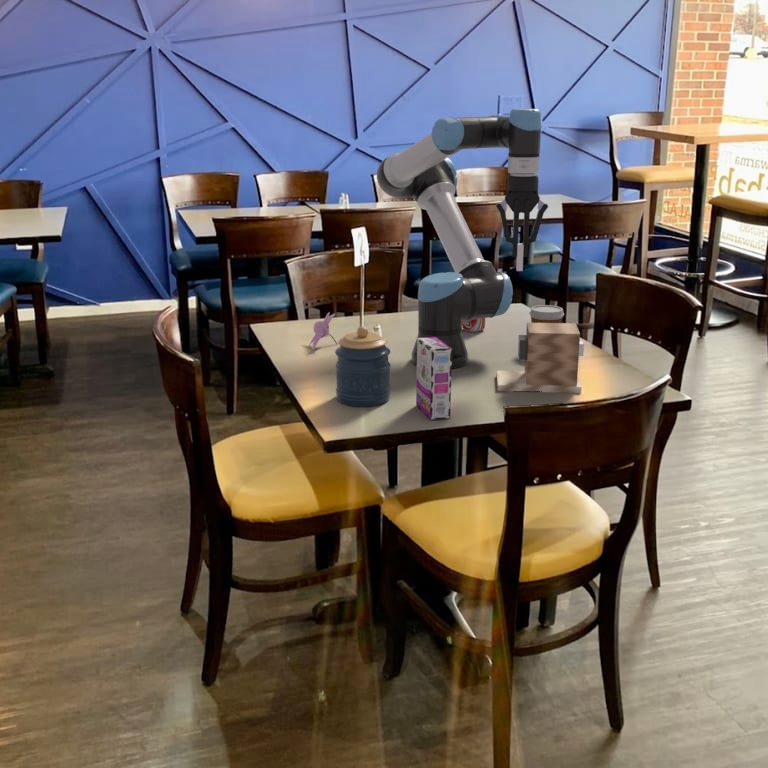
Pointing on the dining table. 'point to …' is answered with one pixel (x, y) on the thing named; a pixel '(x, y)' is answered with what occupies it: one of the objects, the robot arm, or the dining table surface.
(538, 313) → the disposable coffee cup
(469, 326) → the soda can
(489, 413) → the dining table surface
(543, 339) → the block
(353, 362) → the canister
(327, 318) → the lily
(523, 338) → the shaft
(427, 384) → the candy bar box
